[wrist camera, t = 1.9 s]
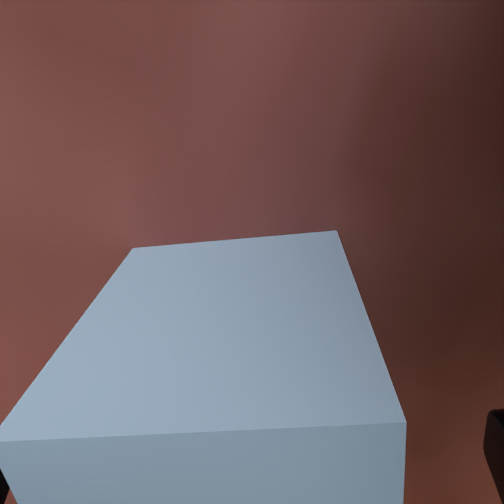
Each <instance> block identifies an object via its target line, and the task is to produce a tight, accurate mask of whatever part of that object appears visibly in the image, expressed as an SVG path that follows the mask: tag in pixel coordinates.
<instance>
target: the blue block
mask: <svg viewBox="0 0 504 504" xmlns="http://www.w3.org/2000/svg"><path fill="white" fill-rule="evenodd" d="M406 426H407V422H406V419H405V417H404V414H403V411H402V408H401V406H400V403H399V400H398V397H397V395H396V392H395V389H394V386H393V384H392V381H391V378H390V375H389V373H388V370H387V367H386V364H385V362H384V359H383V356H382V353H381V351H380V348H379V345H378V343H377V340H376V337H375V334H374V332H373V329H372V326H371V323H370V321H369V318H368V315H367V312H366V310H365V307H364V304H363V301H362V299H361V296H360V293H359V290H358V288H357V285H356V282H355V279H354V277H353V274H352V271H351V269H350V266H349V263H348V260H347V258H346V255H345V252H344V249H343V247H342V244H341V241H340V238H339V236H338V233H337V230H336V231H324V232H313V233H301V234H290V235H279V236H267V237H256V238H244V239H233V240H221V241H210V242H199V243H187V244H176V245H164V246H153V247H142V248H133V249H132V250H131V251H130V253H129V254H128V255H127V257H126V258H125V259H124V261H123V262H122V263H121V265H120V266H119V267H118V269H117V270H116V271H115V273H114V274H113V275H112V277H111V278H110V279H109V281H108V282H107V283H106V285H105V286H104V288H103V289H102V290H101V292H100V293H99V294H98V296H97V297H96V298H95V300H94V301H93V302H92V304H91V305H90V306H89V308H88V309H87V310H86V312H85V313H84V314H83V316H82V317H81V318H80V320H79V321H78V322H77V324H76V325H75V326H74V328H73V329H72V330H71V332H70V333H69V334H68V336H67V337H66V338H65V340H64V341H63V342H62V344H61V345H60V346H59V348H58V349H57V350H56V352H55V353H54V354H53V356H52V357H51V358H50V360H49V361H48V362H47V364H46V365H45V366H44V368H43V369H42V370H41V372H40V373H39V374H38V376H37V377H36V379H35V380H34V381H33V383H32V384H31V385H30V387H29V388H28V389H27V391H26V392H25V393H24V395H23V396H22V397H21V399H20V400H19V401H18V403H17V404H16V405H15V407H14V408H13V409H12V411H11V412H10V413H9V415H8V416H7V417H6V419H5V420H4V421H3V423H2V424H1V425H0V469H1V471H2V473H3V475H4V477H5V479H6V481H7V483H8V485H9V487H10V489H11V491H12V493H13V495H14V497H15V499H16V502H17V504H403V499H404V474H405V450H406Z"/></svg>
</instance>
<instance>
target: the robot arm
mask: <svg viewBox="0 0 504 504" xmlns="http://www.w3.org/2000/svg"><path fill="white" fill-rule="evenodd" d="M483 447H484V454H485V457H486V460H487V463H488V466H489V469H490V471H491V474H492V477H493V479H494V482H495V485H496V487H497V490H498V493H499V496H500V498H501V501H502V504H504V409H495V410H491V411H490V412H489V413H488V416H487V422H486V429H485V436H484V444H483ZM9 489H10V487H9V485H8V483H7V481H6V479H5V477H4V475H3V473H2V471H1V469H0V504H4V502H5V500H6V497H7V494H8V492H9Z"/></svg>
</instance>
